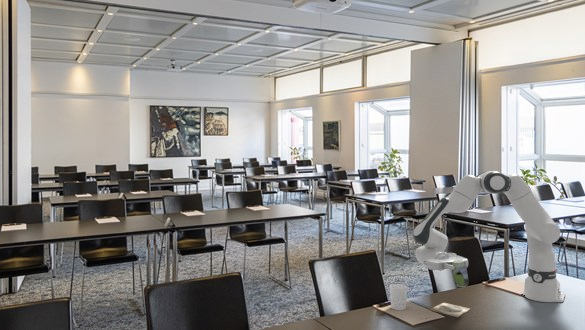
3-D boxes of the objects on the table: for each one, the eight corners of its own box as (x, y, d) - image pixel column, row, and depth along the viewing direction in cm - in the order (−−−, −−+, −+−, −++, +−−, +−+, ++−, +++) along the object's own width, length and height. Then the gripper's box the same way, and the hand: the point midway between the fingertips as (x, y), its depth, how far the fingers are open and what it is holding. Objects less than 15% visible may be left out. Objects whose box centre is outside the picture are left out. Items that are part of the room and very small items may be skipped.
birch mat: (444, 303, 226) (444, 302, 226) (470, 310, 216) (470, 308, 216) (430, 310, 216) (430, 309, 216) (457, 317, 207) (457, 315, 207)
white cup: (408, 306, 222) (408, 285, 222) (405, 311, 215) (405, 289, 215) (391, 304, 225) (391, 283, 225) (387, 309, 218) (387, 287, 218)
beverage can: (470, 288, 216) (470, 262, 214) (454, 288, 216) (454, 262, 215) (466, 283, 222) (466, 258, 221) (450, 283, 222) (450, 258, 221)
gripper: (420, 255, 226) (438, 262, 213) (456, 252, 233) (476, 259, 220) (420, 269, 226) (438, 276, 213) (456, 265, 233) (476, 272, 220)
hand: (457, 267), depth 216 cm, fingers closed on beverage can, 3 cm apart
